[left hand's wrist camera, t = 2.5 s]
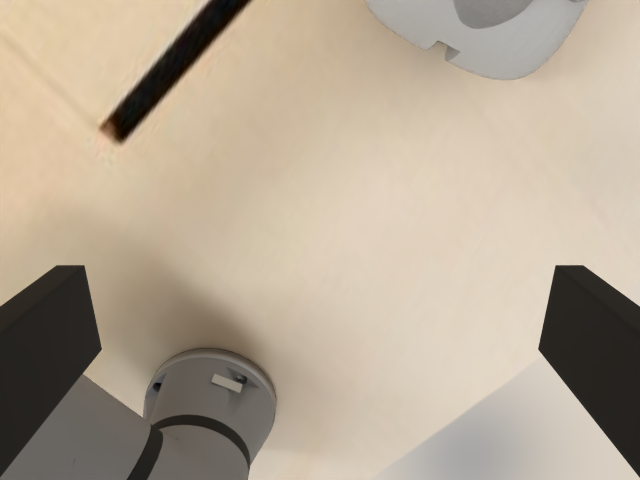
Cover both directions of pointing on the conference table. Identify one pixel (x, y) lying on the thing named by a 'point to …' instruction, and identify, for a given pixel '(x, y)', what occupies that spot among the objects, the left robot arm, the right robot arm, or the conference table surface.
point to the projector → (484, 30)
